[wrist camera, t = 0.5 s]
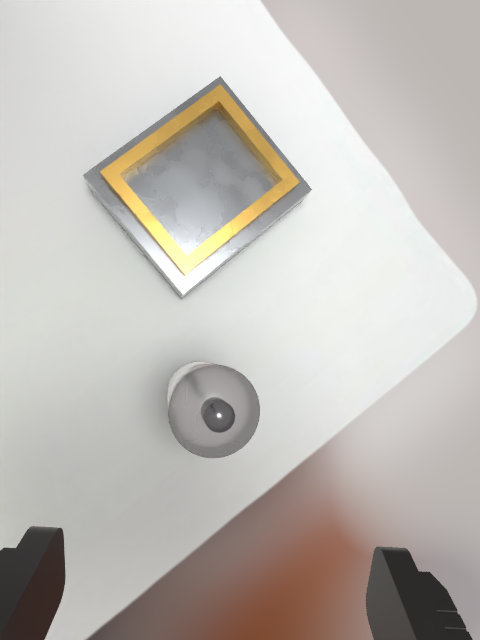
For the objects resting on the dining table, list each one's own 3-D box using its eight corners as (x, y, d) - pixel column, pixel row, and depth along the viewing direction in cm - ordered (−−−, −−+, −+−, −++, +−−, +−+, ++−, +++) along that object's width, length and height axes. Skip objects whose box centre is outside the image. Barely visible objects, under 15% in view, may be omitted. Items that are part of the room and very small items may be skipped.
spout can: (154, 389, 38) (147, 412, 23) (202, 349, 39) (225, 345, 24) (194, 436, 38) (213, 490, 23) (241, 395, 39) (289, 421, 24)
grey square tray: (89, 188, 39) (80, 168, 34) (216, 96, 41) (222, 67, 37) (181, 298, 39) (183, 292, 35) (301, 201, 41) (316, 184, 37)
